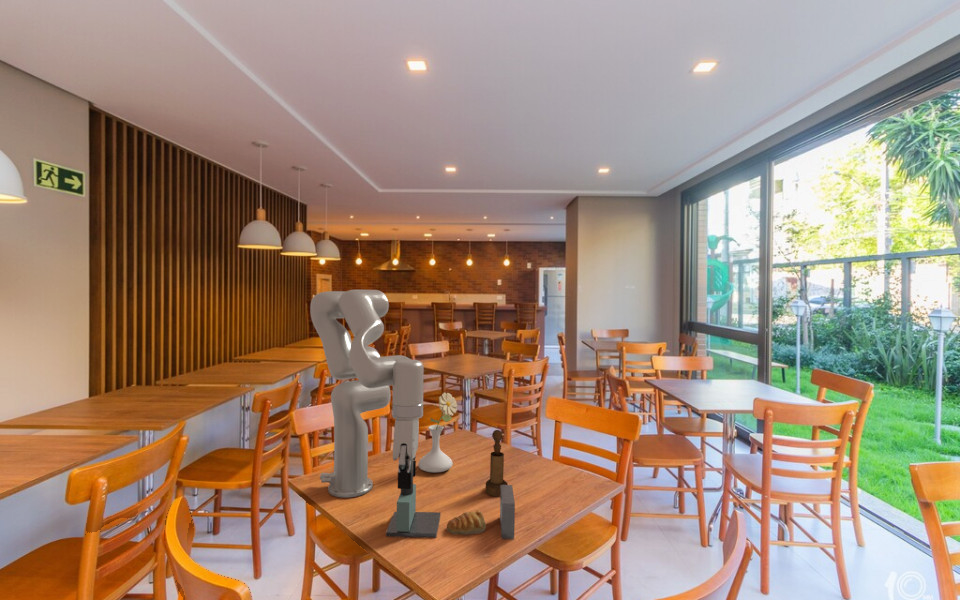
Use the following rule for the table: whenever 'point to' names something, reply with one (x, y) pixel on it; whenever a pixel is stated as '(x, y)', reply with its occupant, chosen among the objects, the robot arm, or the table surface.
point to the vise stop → (507, 512)
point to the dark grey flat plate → (417, 525)
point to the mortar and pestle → (496, 467)
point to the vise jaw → (406, 505)
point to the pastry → (467, 524)
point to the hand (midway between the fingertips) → (406, 481)
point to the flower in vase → (436, 457)
